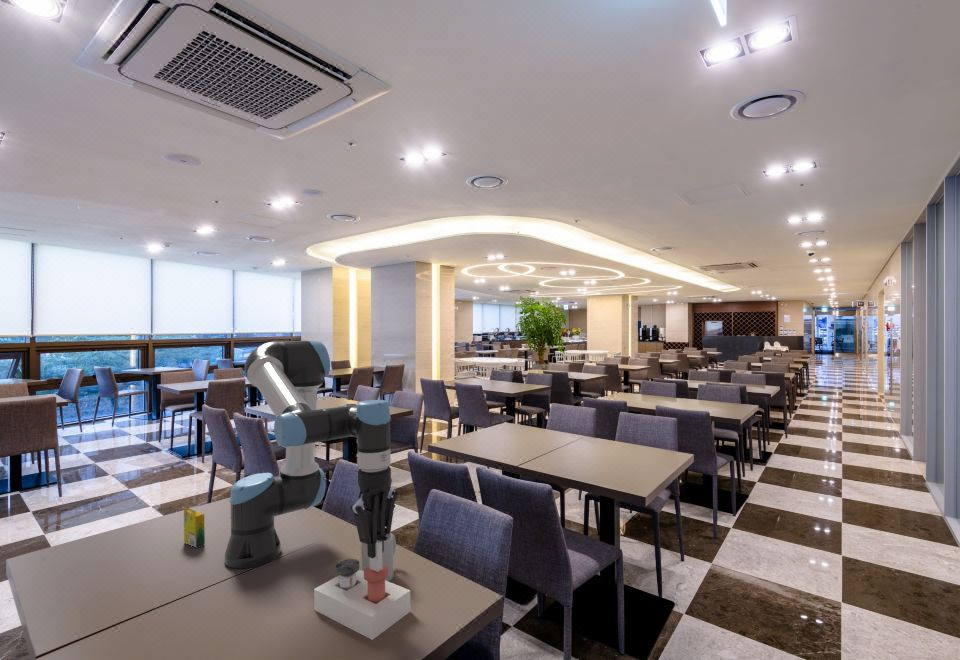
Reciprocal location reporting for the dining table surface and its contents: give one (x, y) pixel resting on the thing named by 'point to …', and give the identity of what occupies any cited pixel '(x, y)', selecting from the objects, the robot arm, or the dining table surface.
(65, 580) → the dining table surface
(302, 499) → the robot arm
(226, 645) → the dining table surface
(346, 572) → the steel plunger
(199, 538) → the crayon box
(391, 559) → the mug
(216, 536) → the dining table surface
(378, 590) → the red plunger
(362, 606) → the white socket block
